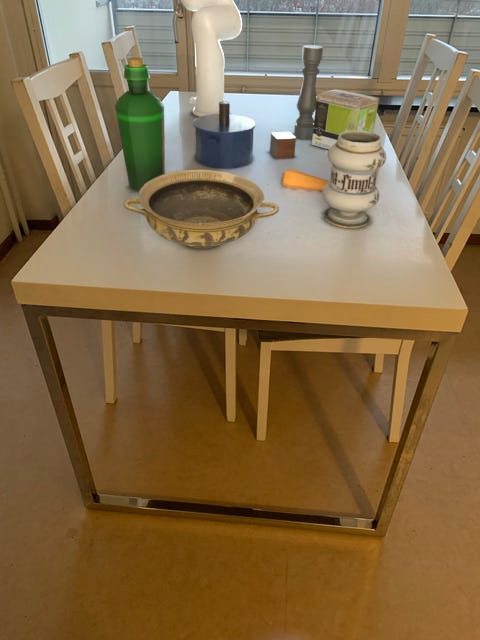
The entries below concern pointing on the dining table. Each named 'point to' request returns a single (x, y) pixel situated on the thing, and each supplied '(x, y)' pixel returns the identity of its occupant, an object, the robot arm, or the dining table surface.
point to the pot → (224, 149)
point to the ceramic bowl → (201, 206)
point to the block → (282, 145)
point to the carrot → (302, 180)
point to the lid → (224, 122)
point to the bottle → (141, 126)
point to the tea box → (342, 115)
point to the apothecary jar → (353, 178)
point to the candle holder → (308, 92)
